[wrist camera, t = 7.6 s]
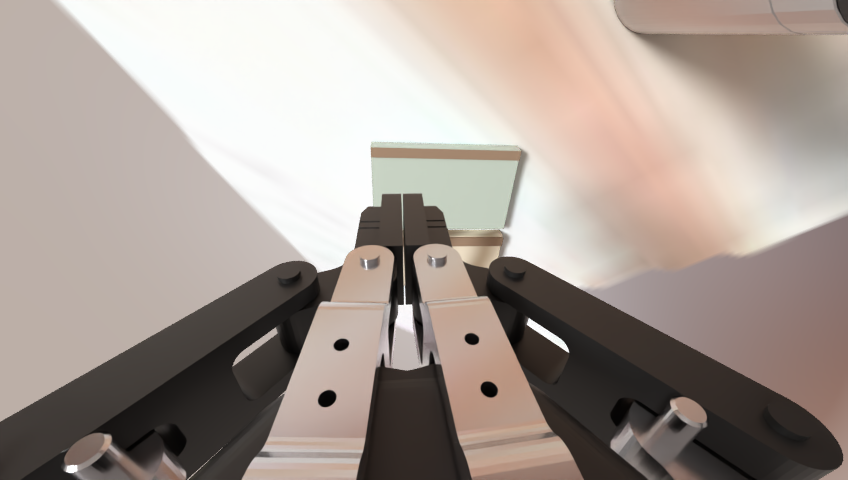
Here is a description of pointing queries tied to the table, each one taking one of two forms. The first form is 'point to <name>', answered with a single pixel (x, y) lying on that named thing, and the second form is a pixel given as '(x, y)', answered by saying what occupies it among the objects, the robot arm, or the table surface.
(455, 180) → the sage plank
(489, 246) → the ash board
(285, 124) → the table surface
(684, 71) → the table surface
